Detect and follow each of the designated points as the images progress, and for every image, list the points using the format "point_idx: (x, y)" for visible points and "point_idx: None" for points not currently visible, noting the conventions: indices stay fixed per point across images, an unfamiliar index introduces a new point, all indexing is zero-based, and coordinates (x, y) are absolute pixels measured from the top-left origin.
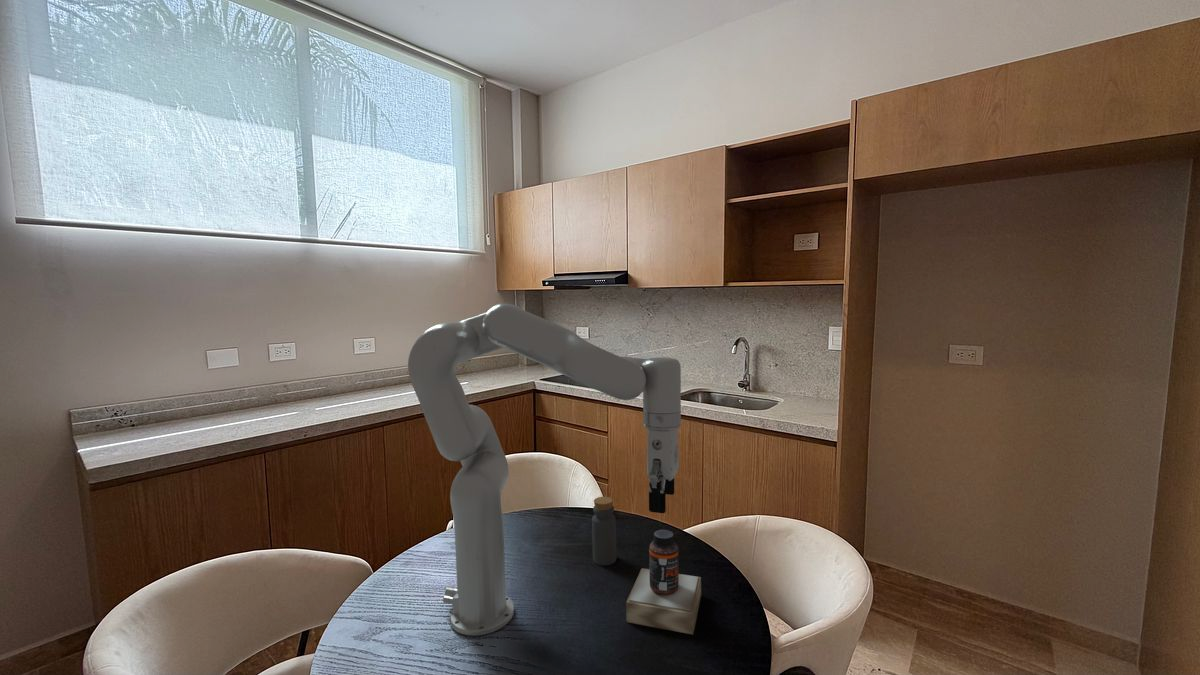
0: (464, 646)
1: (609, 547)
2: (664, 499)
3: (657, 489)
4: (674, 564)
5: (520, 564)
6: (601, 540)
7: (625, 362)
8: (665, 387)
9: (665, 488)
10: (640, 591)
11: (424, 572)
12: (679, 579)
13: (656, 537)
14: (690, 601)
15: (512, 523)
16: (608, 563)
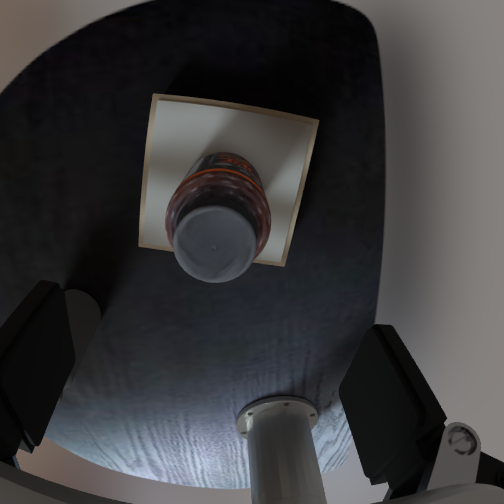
0: (331, 412)
1: (81, 321)
2: (425, 386)
3: (492, 465)
4: (253, 176)
5: (146, 413)
6: (84, 346)
7: None
8: None
9: (56, 354)
10: None
11: (199, 472)
12: (177, 149)
13: (244, 271)
14: (276, 122)
15: (53, 427)
16: (94, 302)
